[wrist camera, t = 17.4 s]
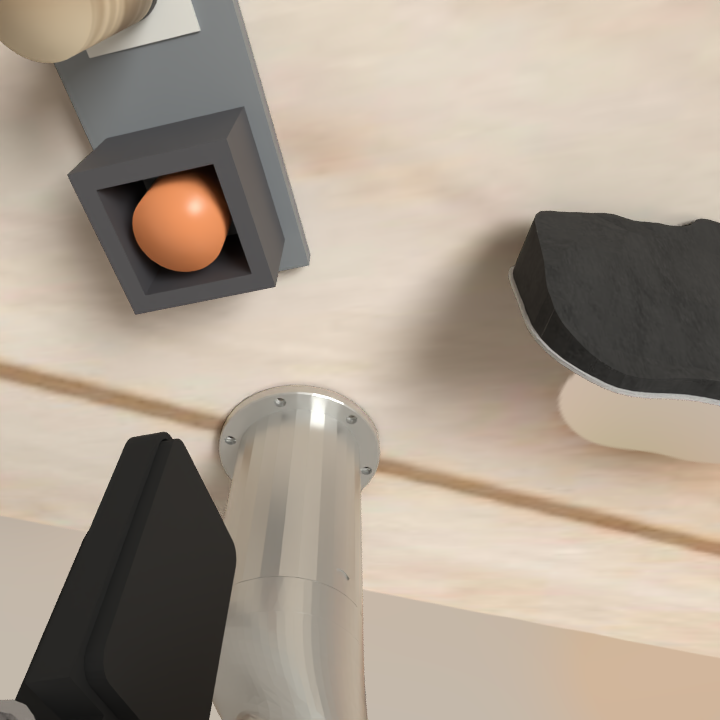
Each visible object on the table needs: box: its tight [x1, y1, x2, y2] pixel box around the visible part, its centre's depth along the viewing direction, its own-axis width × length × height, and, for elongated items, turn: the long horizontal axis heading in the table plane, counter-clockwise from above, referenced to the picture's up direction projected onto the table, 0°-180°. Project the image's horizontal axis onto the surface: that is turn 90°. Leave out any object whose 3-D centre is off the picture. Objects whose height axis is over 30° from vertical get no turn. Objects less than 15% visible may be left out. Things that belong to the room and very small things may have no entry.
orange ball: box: [132, 164, 233, 272], centre depth 35 cm, size 5×5×5 cm
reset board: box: [54, 0, 310, 315], centre depth 33 cm, size 21×10×8 cm, turn 12°
